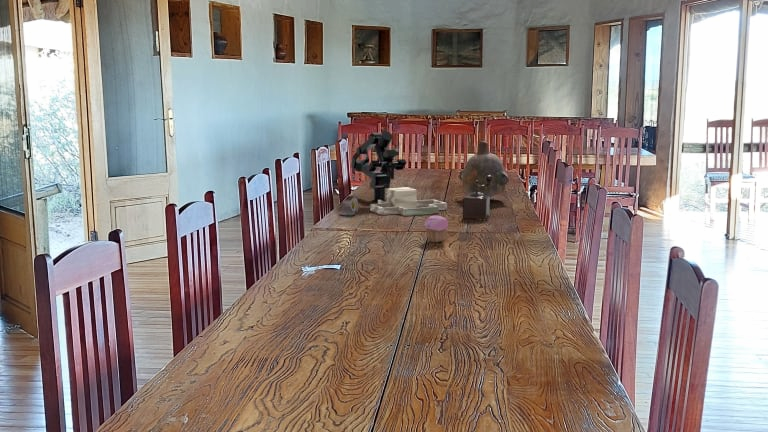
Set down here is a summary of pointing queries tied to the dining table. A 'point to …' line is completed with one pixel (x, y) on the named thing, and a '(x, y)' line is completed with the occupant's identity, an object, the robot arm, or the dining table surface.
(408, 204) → the birch block
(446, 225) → the cupcake
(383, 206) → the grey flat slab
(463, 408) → the dining table surface
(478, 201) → the manual coffee grinder
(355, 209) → the pocket watch
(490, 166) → the jug
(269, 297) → the dining table surface
